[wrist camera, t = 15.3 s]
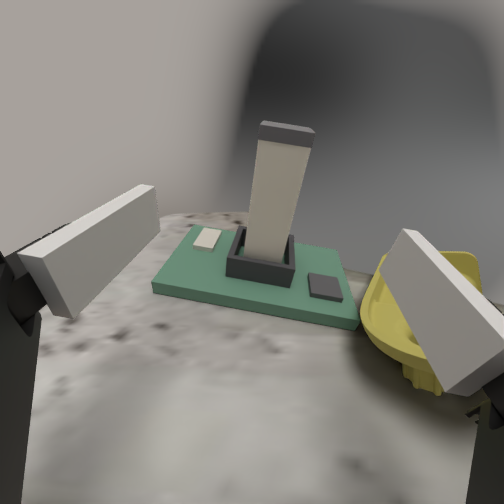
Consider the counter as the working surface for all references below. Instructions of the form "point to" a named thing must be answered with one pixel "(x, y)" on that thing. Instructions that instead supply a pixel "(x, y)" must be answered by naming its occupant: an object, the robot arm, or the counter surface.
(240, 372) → the counter surface
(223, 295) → the board
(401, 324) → the plastic component
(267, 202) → the plug
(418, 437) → the counter surface
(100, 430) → the counter surface
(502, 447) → the robot arm
